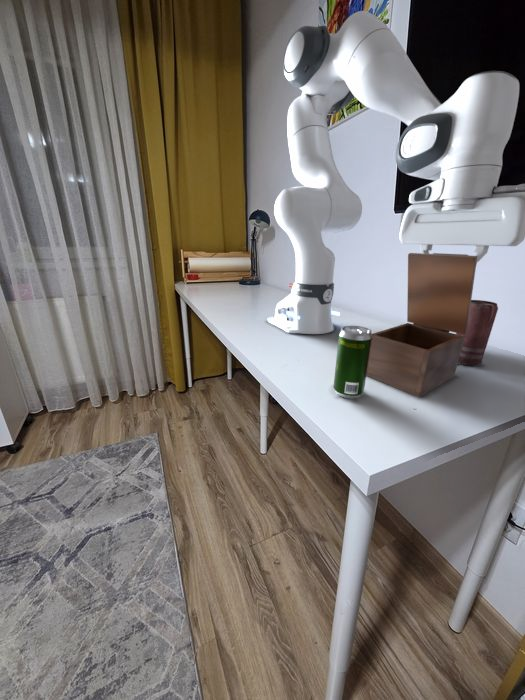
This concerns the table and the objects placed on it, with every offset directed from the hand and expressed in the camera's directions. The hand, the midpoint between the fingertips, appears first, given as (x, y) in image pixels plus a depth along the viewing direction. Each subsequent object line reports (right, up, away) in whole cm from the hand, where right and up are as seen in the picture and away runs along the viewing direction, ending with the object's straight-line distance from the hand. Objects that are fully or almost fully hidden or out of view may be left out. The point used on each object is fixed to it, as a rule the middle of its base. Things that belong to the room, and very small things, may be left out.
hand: (446, 270), depth 56 cm
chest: (-5, -21, +4) cm, 22 cm away
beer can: (-20, -23, -3) cm, 31 cm away
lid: (-2, -5, 0) cm, 5 cm away
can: (+11, -18, +11) cm, 24 cm away
